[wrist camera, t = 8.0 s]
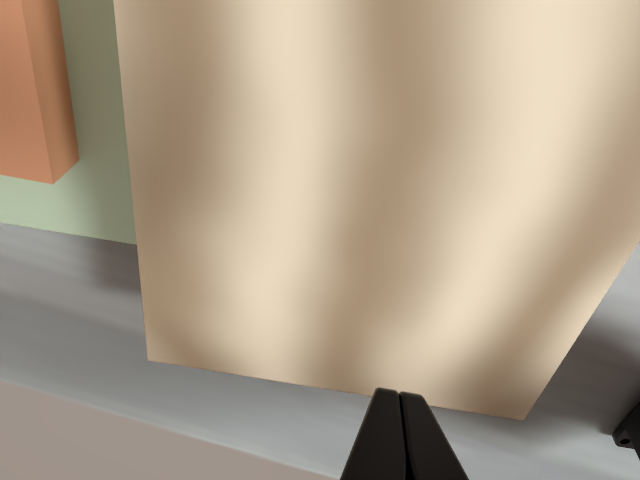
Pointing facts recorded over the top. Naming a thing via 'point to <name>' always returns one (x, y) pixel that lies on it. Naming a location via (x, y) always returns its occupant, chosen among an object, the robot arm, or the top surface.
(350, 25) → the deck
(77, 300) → the top surface
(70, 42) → the mat
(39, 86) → the block
